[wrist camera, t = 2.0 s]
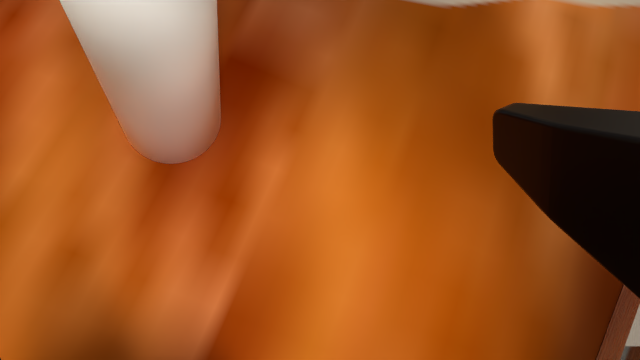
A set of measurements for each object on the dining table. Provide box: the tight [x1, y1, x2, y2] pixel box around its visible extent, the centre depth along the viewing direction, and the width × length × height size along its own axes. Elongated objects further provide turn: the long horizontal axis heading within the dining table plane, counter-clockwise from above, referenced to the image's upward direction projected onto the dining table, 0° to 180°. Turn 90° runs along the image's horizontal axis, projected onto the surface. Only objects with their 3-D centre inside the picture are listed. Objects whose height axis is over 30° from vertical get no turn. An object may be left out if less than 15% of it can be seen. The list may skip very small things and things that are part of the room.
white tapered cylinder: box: [60, 0, 221, 164], centre depth 17 cm, size 4×4×14 cm
